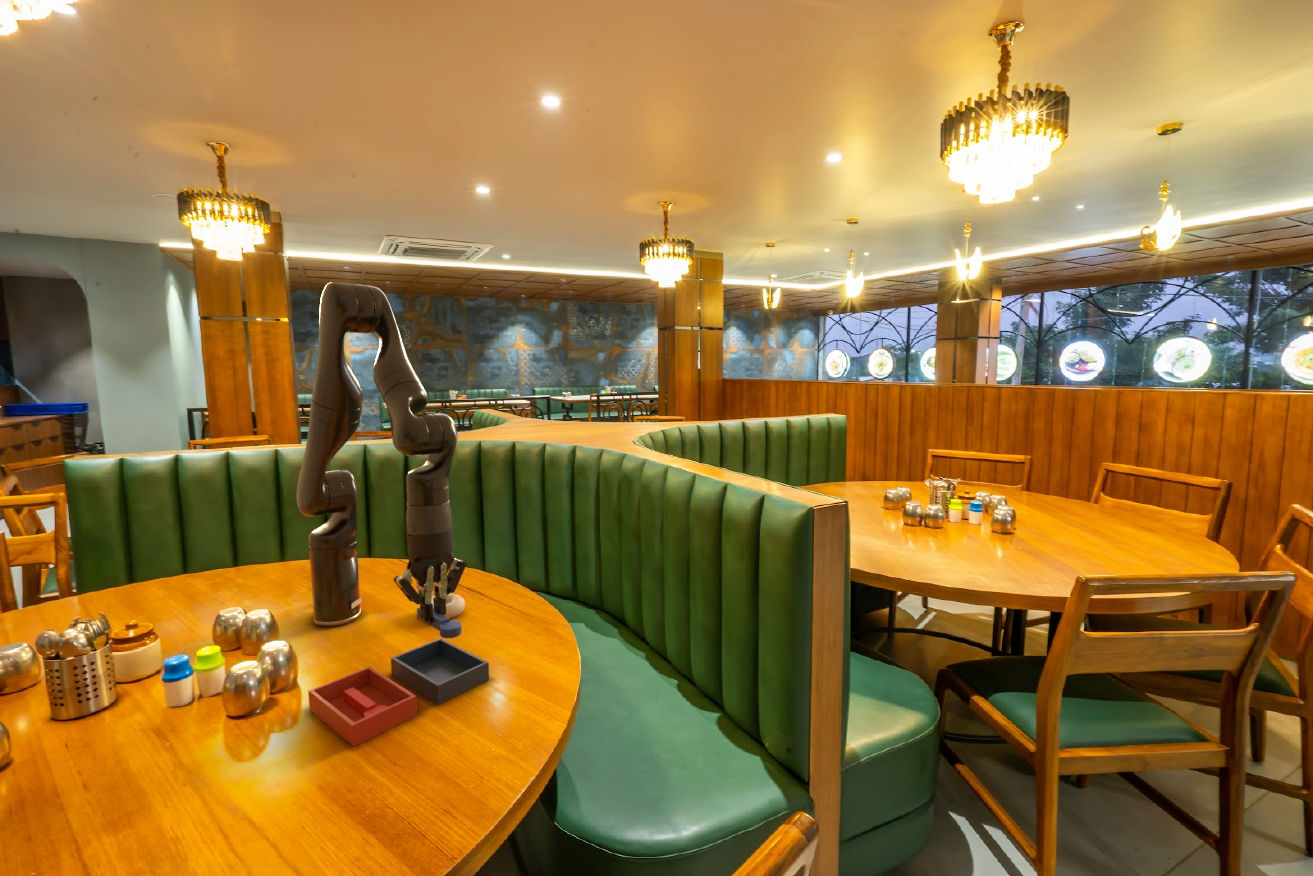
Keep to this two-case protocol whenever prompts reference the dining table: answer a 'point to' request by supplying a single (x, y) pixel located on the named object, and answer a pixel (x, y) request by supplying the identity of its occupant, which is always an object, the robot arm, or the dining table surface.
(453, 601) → the donut
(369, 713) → the red spoon
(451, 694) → the blue tray
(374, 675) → the red tray
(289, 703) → the dining table surface
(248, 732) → the dining table surface
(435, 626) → the blue spoon
